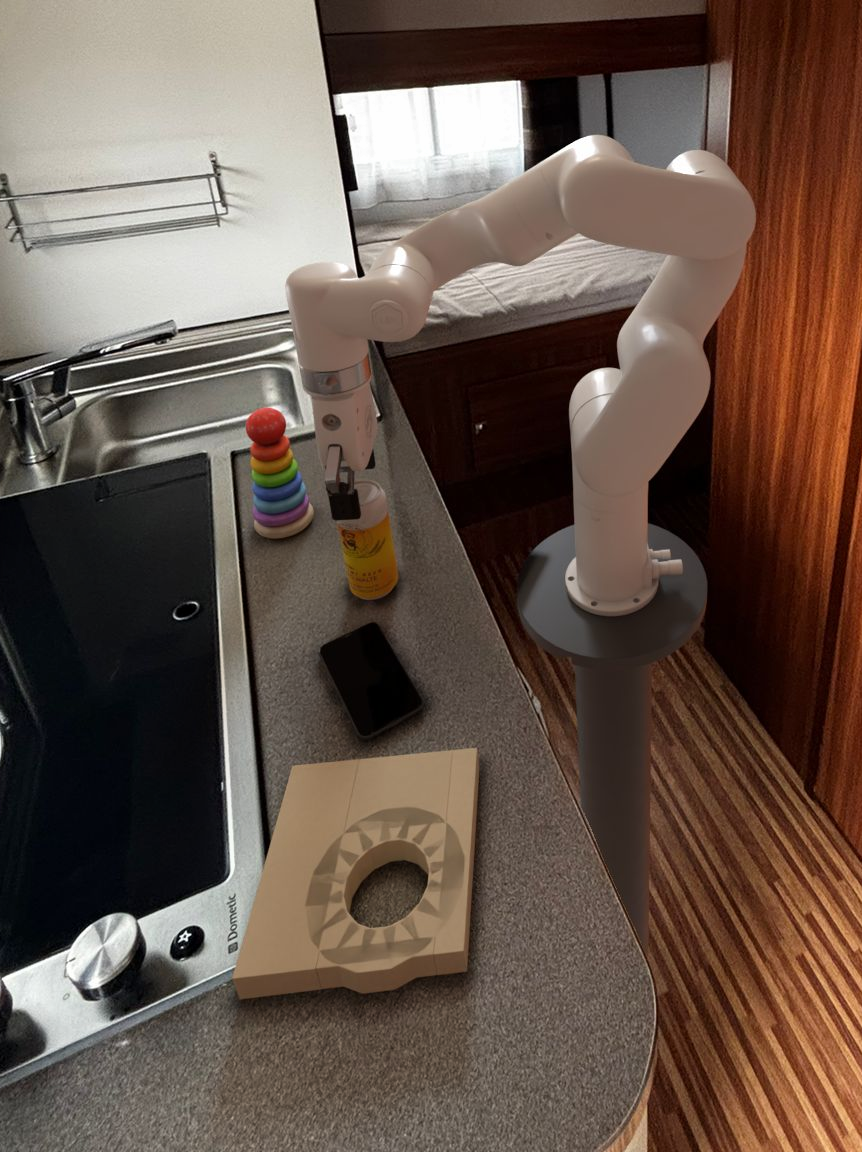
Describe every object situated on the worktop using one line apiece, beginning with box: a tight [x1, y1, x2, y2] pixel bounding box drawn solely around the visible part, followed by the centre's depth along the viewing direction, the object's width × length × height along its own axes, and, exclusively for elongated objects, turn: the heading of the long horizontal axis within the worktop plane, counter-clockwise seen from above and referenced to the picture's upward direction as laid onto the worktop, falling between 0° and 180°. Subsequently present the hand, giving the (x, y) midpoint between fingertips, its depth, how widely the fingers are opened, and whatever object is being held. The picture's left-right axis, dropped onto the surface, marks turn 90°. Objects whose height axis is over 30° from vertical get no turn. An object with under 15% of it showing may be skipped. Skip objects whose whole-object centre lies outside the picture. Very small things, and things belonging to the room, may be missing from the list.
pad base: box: [231, 747, 480, 1000], centre depth 73 cm, size 18×19×3 cm
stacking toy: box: [245, 407, 315, 540], centre depth 113 cm, size 8×8×19 cm
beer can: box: [336, 478, 399, 601], centre depth 103 cm, size 6×6×15 cm
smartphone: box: [318, 621, 425, 741], centre depth 92 cm, size 7×1×15 cm
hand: (355, 492), depth 100 cm, fingers open, 9 cm apart
